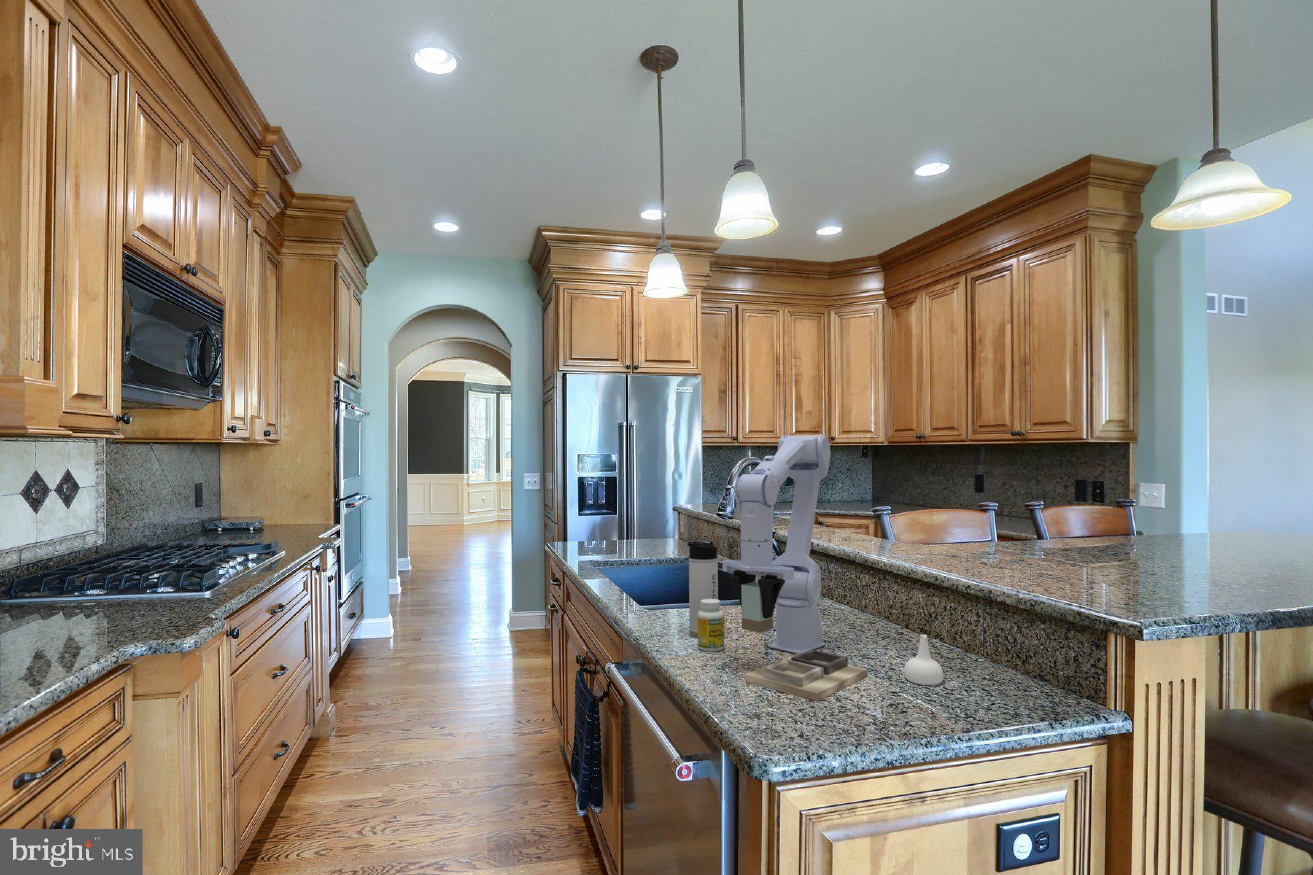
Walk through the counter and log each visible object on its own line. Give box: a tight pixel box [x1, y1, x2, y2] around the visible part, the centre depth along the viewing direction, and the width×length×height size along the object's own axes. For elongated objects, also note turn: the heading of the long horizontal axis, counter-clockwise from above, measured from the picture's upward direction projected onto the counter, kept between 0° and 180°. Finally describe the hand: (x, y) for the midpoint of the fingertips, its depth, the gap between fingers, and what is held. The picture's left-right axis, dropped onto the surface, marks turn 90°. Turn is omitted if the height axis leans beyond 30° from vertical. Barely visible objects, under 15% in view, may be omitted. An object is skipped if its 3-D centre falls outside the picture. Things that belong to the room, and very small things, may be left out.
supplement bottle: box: [697, 599, 725, 653], centre depth 134 cm, size 5×5×10 cm
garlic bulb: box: [903, 634, 944, 686], centre depth 114 cm, size 6×6×8 cm
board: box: [744, 649, 869, 702], centre depth 115 cm, size 17×14×3 cm
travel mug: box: [687, 541, 719, 639], centre depth 145 cm, size 6×7×20 cm
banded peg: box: [741, 581, 774, 634], centre depth 120 cm, size 4×4×8 cm
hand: (757, 615), depth 120 cm, fingers closed on banded peg, 4 cm apart
